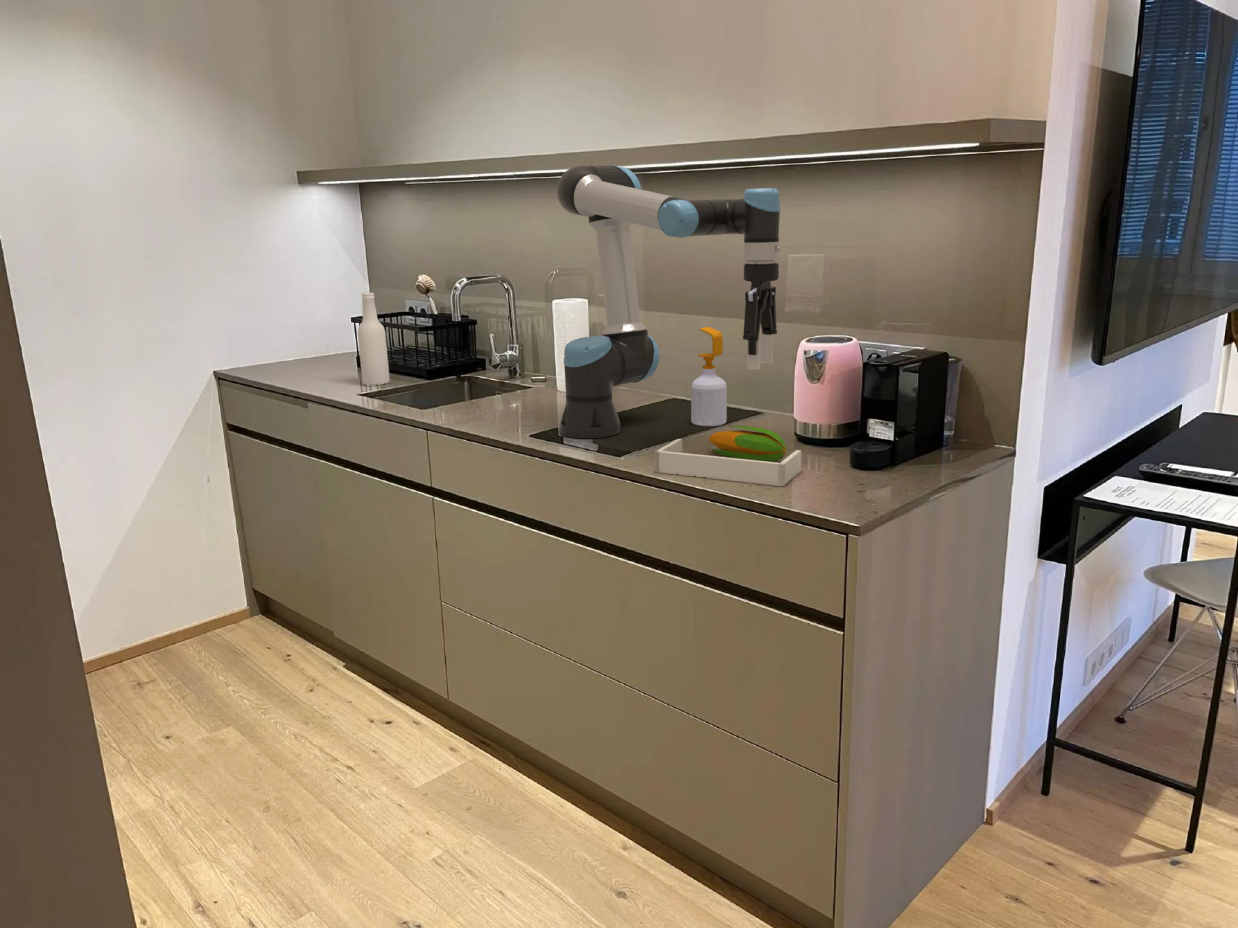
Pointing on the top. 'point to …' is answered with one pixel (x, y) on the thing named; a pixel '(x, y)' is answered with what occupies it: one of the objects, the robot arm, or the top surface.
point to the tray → (726, 466)
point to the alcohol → (372, 344)
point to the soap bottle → (709, 388)
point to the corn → (749, 444)
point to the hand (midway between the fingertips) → (759, 366)
